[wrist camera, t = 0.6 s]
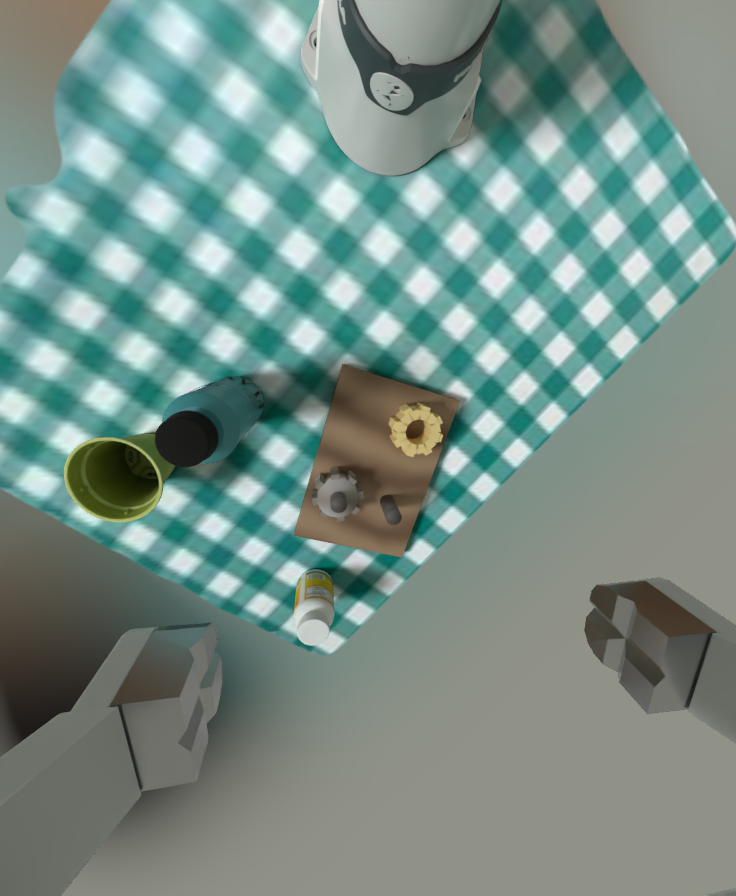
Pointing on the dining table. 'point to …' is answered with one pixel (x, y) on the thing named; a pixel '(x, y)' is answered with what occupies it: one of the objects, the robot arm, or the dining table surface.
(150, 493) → the plant pot
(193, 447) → the beverage bottle
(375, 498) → the gear board
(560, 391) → the dining table surface
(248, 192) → the dining table surface
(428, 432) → the loose gear
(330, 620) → the supplement bottle
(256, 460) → the dining table surface
